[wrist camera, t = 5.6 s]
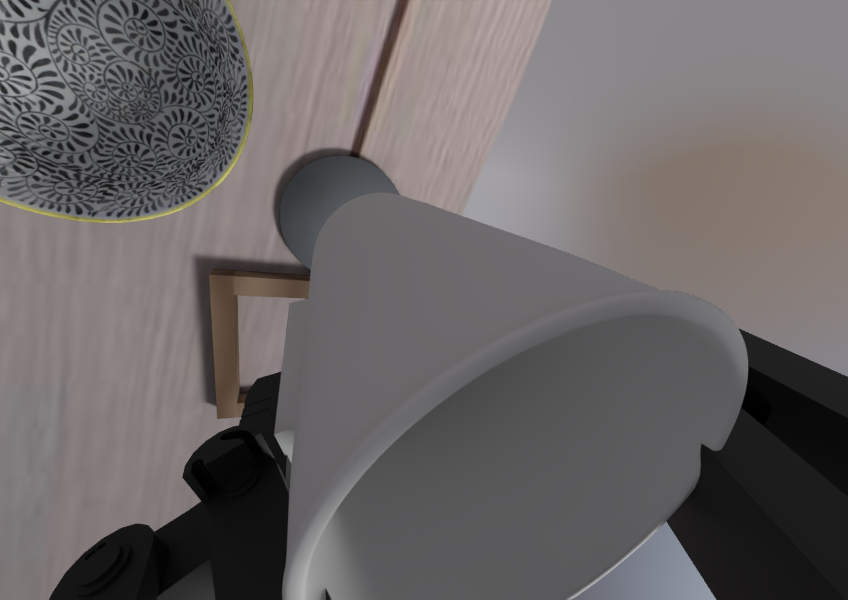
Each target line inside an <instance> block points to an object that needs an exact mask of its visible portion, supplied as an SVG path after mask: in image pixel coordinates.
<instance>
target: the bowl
mask: <svg viewBox="0 0 848 600" xmlns="http://www.w3.org/2000/svg"><path fill="white" fill-rule="evenodd" d="M252 112H253V81H252V73H251V67H250V61H249V56H248V51H247V48H246V44H245V40H244V37H243V33H242V30H241V27H240V25H239V22H238V19H237V16H236V14H235V11H234V9H233V6H232V4H231V2H230V0H0V202H3V203H5V204H8V205H12V206H15V207H18V208H21V209H24V210H28V211H32V212H36V213H40V214H44V215H48V216H53V217H57V218H63V219H69V220H76V221H85V222H96V223H126V222H132V221H140V220H148V219H153V218H157V217H161V216H165V215H168V214H171V213H174V212H177V211H179V210H181V209H184V208H186V207H189V206H190V205H192V204H194V203H196V202H198V201H199V200H201V199H202V198H204V197H205V196H206V195H207V194H209V193H210V192H211V191H213V190H214V189H215V188H216V187H217V186H218V185H219V184H220V183H221V182H222V181H223V180H224V179H225V178H226V176H227V175H228V174H229V172H230V171H231V170H232V168H233V167H234V165H235V164H236V162H237V160H238V158H239V157H240V155H241V152H242V150H243V148H244V146H245V143H246V140H247V137H248V133H249V129H250V125H251V120H252Z"/></svg>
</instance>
